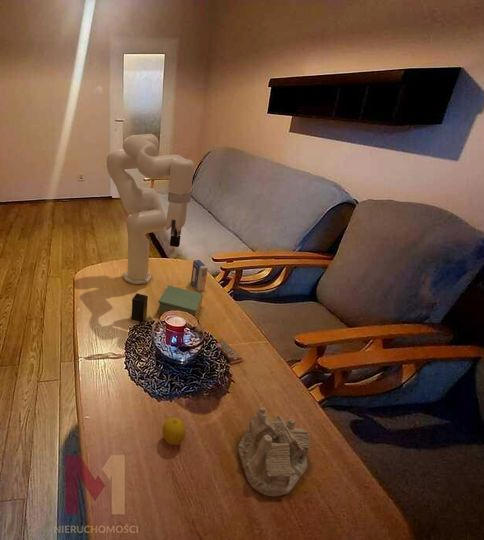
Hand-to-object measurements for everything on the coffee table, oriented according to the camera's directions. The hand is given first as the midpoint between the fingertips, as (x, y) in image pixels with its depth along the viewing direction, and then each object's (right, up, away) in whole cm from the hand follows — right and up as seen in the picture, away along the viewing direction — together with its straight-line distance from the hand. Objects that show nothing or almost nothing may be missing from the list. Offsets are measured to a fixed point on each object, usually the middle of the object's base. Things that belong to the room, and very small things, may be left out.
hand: (174, 245), depth 128 cm
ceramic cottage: (+13, -55, -45) cm, 72 cm away
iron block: (-12, -28, +6) cm, 31 cm away
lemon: (-10, -53, -40) cm, 67 cm away
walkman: (+16, -17, +26) cm, 35 cm away
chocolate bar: (+15, -37, -11) cm, 41 cm away
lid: (+4, -20, +7) cm, 22 cm away
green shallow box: (+4, -25, +10) cm, 28 cm away
